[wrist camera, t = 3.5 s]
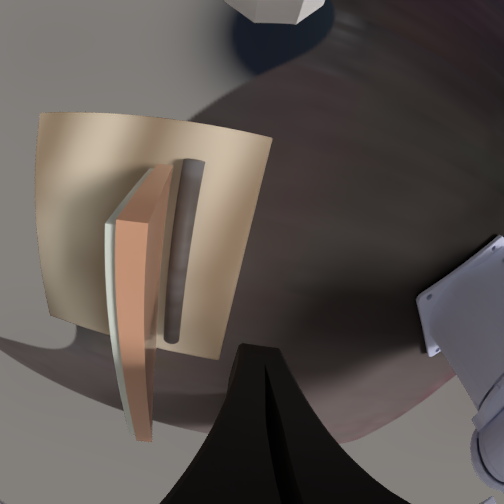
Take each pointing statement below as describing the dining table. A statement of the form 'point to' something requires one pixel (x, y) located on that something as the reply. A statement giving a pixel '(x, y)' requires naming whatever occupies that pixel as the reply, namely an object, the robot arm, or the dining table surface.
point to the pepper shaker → (275, 10)
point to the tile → (136, 292)
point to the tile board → (176, 223)
